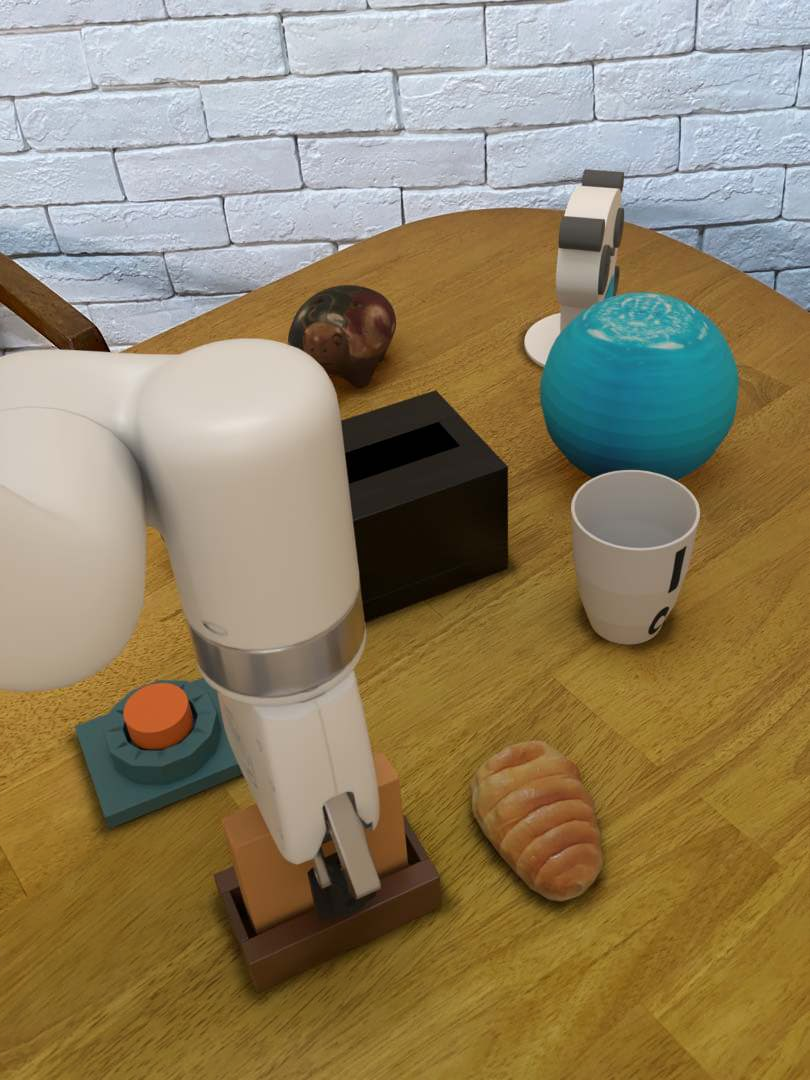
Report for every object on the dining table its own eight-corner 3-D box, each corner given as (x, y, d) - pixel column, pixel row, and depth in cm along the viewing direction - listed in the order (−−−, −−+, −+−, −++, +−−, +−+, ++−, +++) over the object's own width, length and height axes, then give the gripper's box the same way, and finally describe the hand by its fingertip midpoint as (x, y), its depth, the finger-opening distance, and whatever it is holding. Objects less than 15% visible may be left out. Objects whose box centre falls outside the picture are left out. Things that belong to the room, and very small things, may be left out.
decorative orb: (511, 503, 89) (511, 338, 80) (572, 402, 99) (579, 244, 90) (700, 548, 84) (725, 377, 74) (744, 437, 94) (772, 273, 84)
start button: (139, 760, 69) (132, 741, 68) (122, 715, 72) (116, 697, 70) (201, 735, 70) (196, 716, 69) (182, 692, 73) (177, 674, 72)
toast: (262, 954, 62) (233, 849, 55) (250, 924, 63) (220, 818, 56) (410, 886, 64) (399, 777, 58) (395, 859, 66) (383, 750, 59)
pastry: (632, 883, 63) (636, 844, 61) (522, 924, 62) (522, 886, 59) (559, 759, 70) (560, 719, 68) (458, 794, 69) (456, 755, 66)
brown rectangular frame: (257, 993, 60) (249, 965, 58) (221, 903, 64) (212, 874, 62) (442, 906, 63) (440, 876, 61) (396, 826, 67) (393, 795, 65)
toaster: (322, 639, 79) (306, 537, 73) (267, 548, 87) (249, 449, 81) (508, 568, 84) (508, 466, 77) (441, 488, 91) (436, 389, 85)
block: (109, 829, 68) (97, 799, 66) (78, 737, 74) (67, 707, 72) (263, 766, 71) (257, 735, 69) (223, 682, 77) (216, 652, 75)
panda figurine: (634, 387, 101) (647, 230, 91) (510, 372, 104) (510, 218, 94) (654, 320, 109) (669, 169, 99) (539, 307, 112) (542, 161, 102)
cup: (674, 671, 75) (689, 559, 69) (554, 647, 77) (558, 537, 71) (692, 590, 81) (707, 480, 74) (580, 570, 83) (586, 461, 76)
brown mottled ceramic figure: (279, 415, 101) (263, 333, 96) (315, 336, 112) (302, 260, 108) (386, 413, 99) (375, 330, 94) (411, 334, 111) (402, 257, 106)
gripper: (138, 532, 53) (205, 769, 65) (264, 798, 41) (318, 1029, 53) (286, 483, 56) (325, 720, 67) (445, 722, 44) (459, 960, 55)
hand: (321, 854), depth 60 cm, fingers open, 5 cm apart
